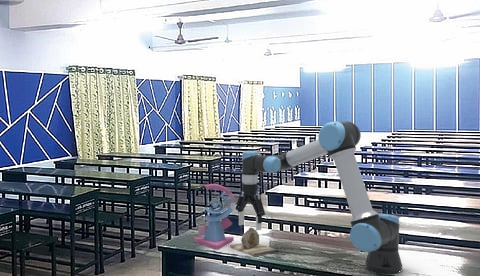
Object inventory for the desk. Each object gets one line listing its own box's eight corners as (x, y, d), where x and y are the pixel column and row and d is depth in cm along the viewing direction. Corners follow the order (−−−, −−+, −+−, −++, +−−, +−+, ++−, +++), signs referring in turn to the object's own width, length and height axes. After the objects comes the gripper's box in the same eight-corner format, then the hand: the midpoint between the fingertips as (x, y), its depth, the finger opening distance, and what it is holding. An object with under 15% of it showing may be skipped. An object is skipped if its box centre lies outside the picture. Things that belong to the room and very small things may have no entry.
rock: (249, 239, 252) (248, 222, 248) (260, 243, 249) (260, 225, 245) (236, 252, 242) (236, 234, 238) (248, 256, 239) (248, 238, 235)
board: (278, 252, 237) (278, 250, 237) (255, 256, 230) (255, 254, 229) (252, 243, 254) (252, 241, 254) (229, 247, 246) (230, 244, 246)
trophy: (233, 240, 259) (234, 182, 257) (237, 249, 242) (238, 186, 241) (193, 241, 256) (194, 182, 255) (195, 250, 239) (196, 186, 238)
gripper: (272, 185, 234) (272, 231, 235) (240, 180, 255) (240, 222, 255) (260, 186, 230) (259, 233, 231) (228, 181, 250) (228, 224, 251)
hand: (249, 227), depth 243 cm, fingers open, 13 cm apart
